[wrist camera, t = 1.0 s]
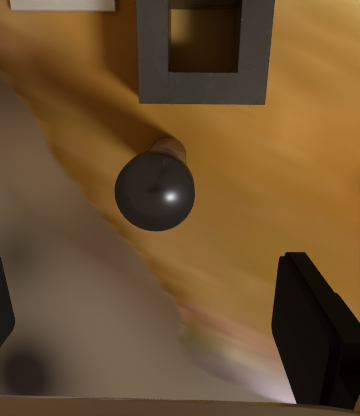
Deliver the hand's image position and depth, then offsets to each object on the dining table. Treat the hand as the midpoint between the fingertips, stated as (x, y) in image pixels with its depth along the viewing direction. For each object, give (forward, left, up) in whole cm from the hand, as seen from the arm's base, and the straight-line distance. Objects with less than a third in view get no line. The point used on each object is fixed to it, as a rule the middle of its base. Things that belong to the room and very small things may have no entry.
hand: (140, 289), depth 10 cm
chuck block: (-11, +3, -22) cm, 25 cm away
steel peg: (-1, 0, -22) cm, 22 cm away
